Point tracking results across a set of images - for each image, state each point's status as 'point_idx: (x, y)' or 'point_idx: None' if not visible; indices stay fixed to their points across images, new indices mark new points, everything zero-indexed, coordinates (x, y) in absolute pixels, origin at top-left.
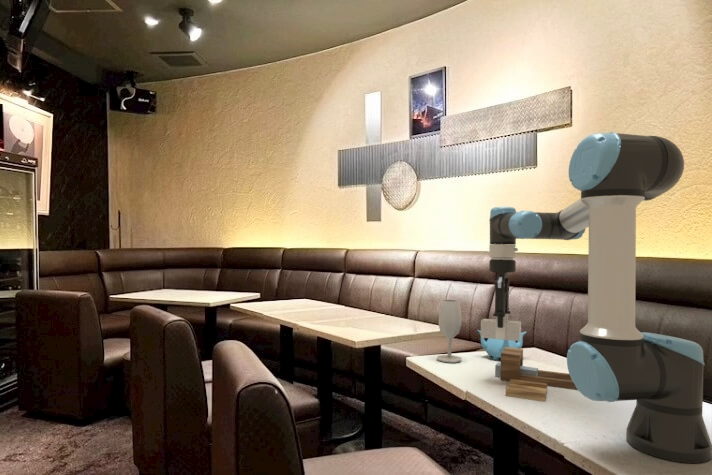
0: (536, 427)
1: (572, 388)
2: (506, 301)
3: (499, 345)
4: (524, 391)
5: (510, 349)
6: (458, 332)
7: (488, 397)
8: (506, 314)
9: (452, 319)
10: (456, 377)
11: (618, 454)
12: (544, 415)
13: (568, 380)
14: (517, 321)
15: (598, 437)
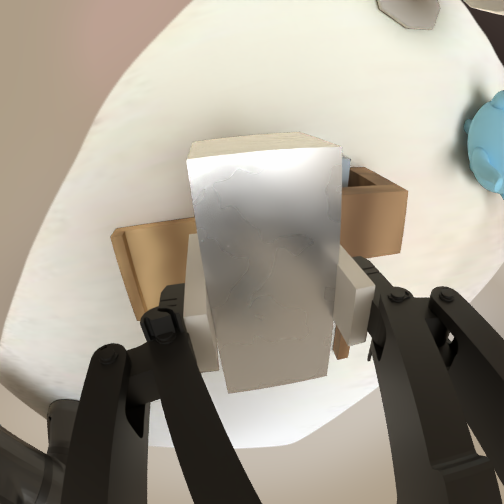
0: (9, 314)
1: None
2: (389, 421)
3: (490, 148)
4: (123, 280)
5: (375, 217)
6: (469, 4)
7: (74, 196)
8: (348, 339)
9: None
10: (211, 43)
11: (25, 388)
12: (62, 318)
13: None
14: (313, 366)
15: (49, 377)
